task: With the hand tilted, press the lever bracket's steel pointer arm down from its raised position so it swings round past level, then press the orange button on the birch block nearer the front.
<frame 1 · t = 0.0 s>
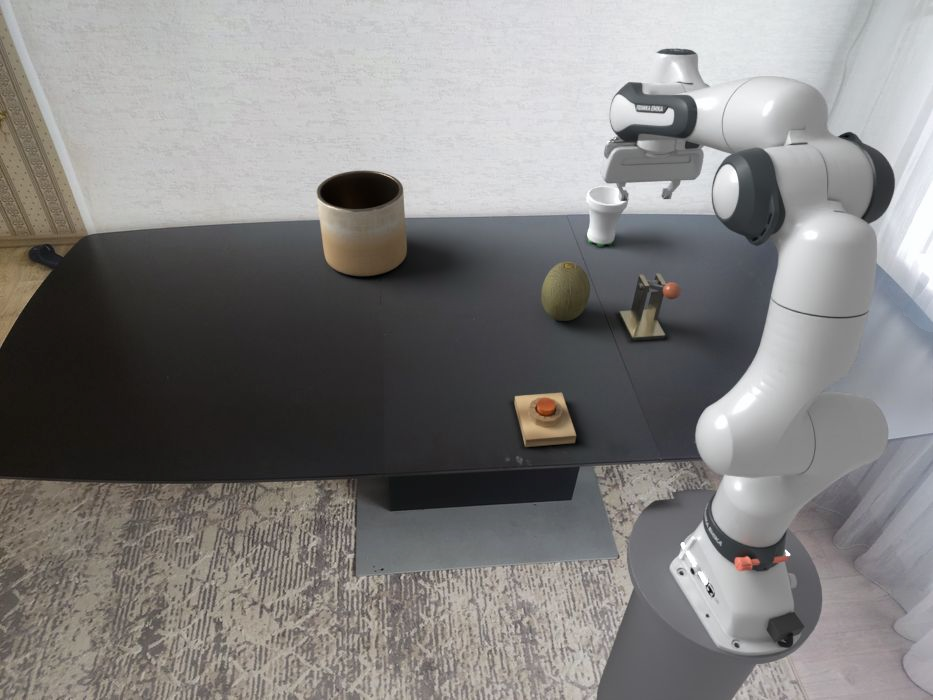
hand: (644, 198, 138), 33 cm above the table, tool pointing down, fingers open, 8 cm apart
button: (545, 407, 131), point 4 cm above the table, slide at 0.1 cm
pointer: (661, 288, 144), point 15 cm above the table, hinge at 30.0°
button block: (543, 422, 134), on the table
lever bracket: (641, 326, 158), on the table
fruit: (562, 316, 161), on the table
cup: (599, 241, 187), on the table
planter: (366, 257, 179), on the table
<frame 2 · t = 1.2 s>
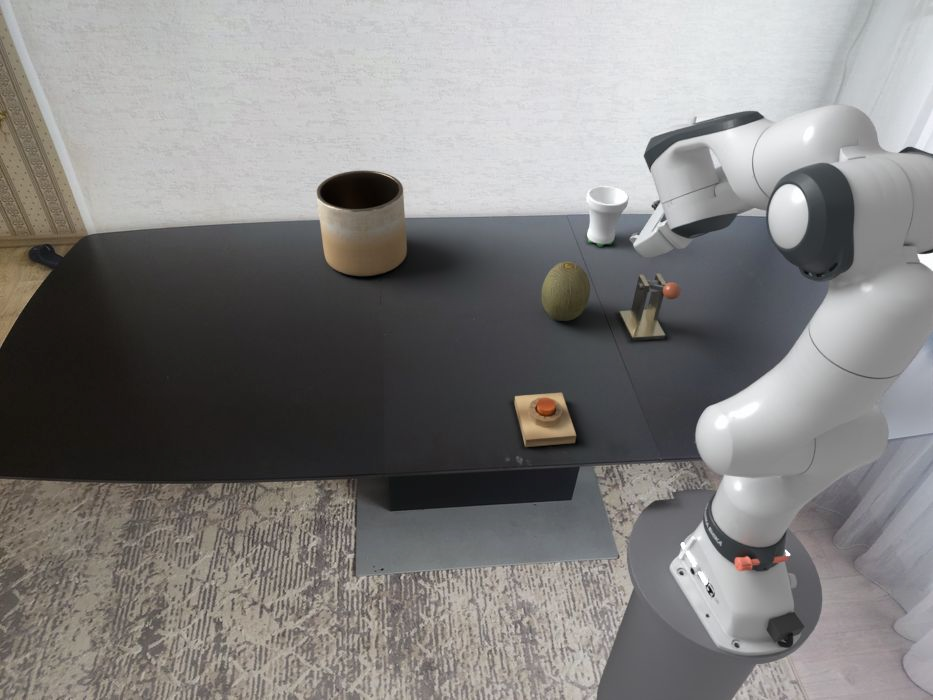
hand: (644, 222, 133), 32 cm above the table, tool tilted 50°, fingers open, 8 cm apart
nothing on the table moved.
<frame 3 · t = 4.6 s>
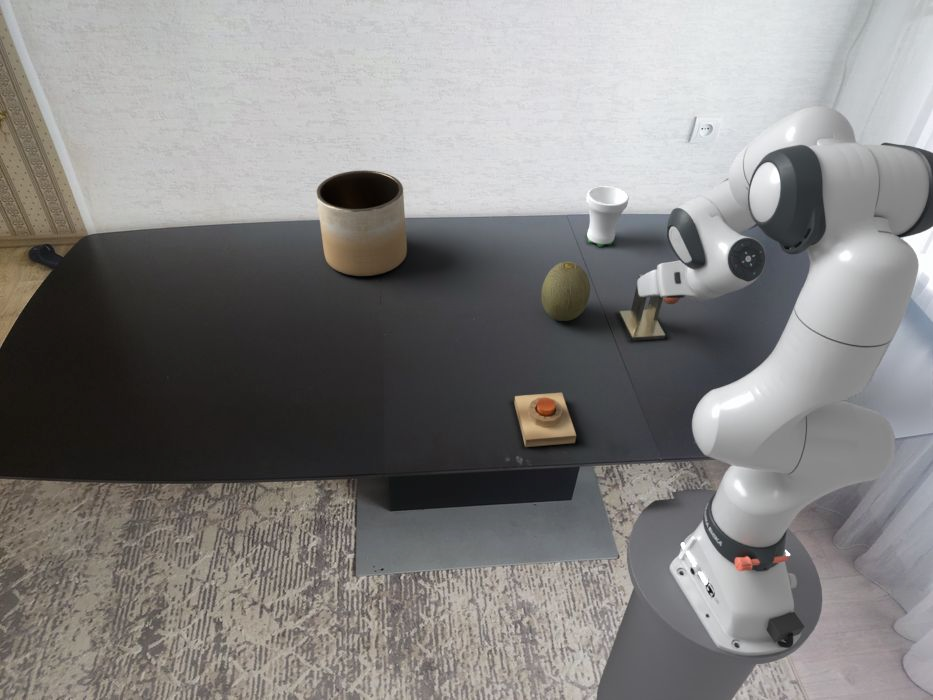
hand: (674, 289, 138), 19 cm above the table, tool tilted 45°, fingers closed, pressing on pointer
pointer: (661, 290, 145), point 14 cm above the table, hinge at 24.5°, touching gripper
everything else where it was.
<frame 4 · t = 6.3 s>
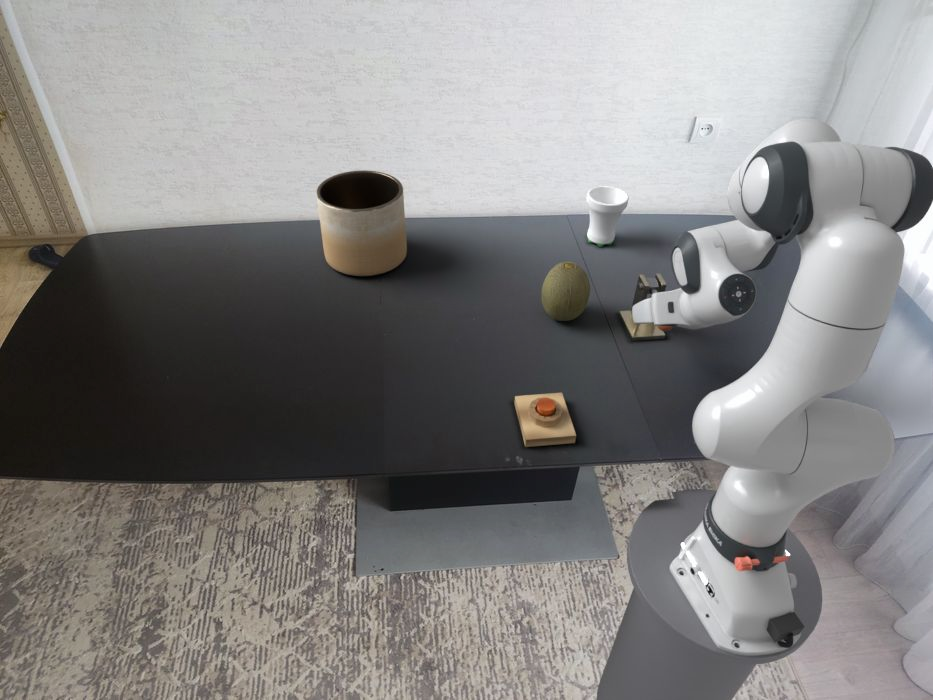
hand: (668, 314, 142), 12 cm above the table, tool tilted 45°, fingers closed
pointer: (658, 304, 147), point 11 cm above the table, hinge at -12.3°, touching gripper
everything else where it was.
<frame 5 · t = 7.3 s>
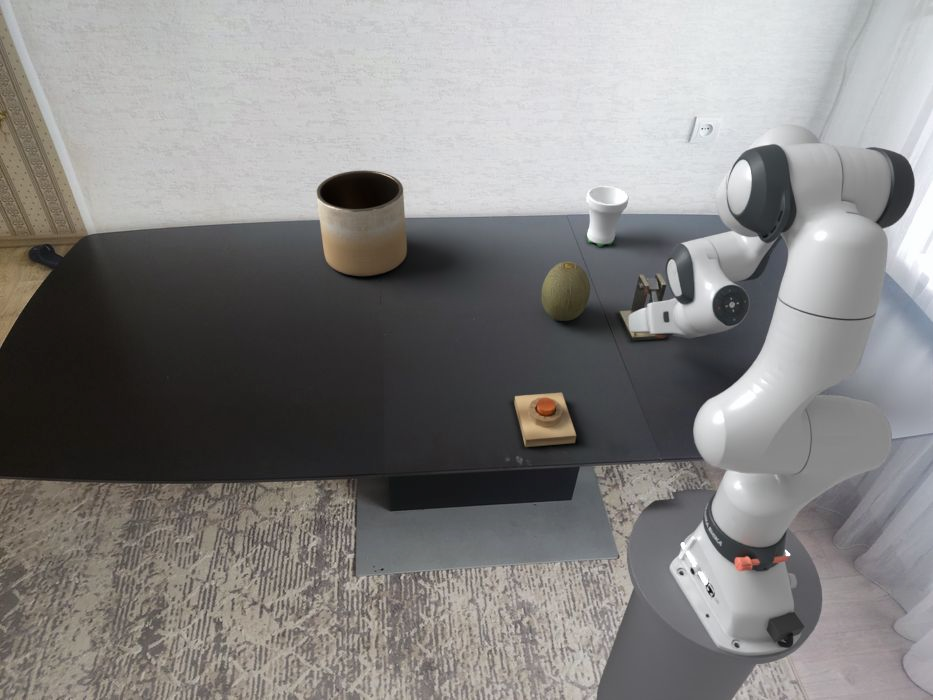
hand: (664, 323, 144), 9 cm above the table, tool tilted 45°, fingers closed, pressing on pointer
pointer: (656, 308, 148), point 9 cm above the table, hinge at -27.6°, touching gripper
everything else where it was.
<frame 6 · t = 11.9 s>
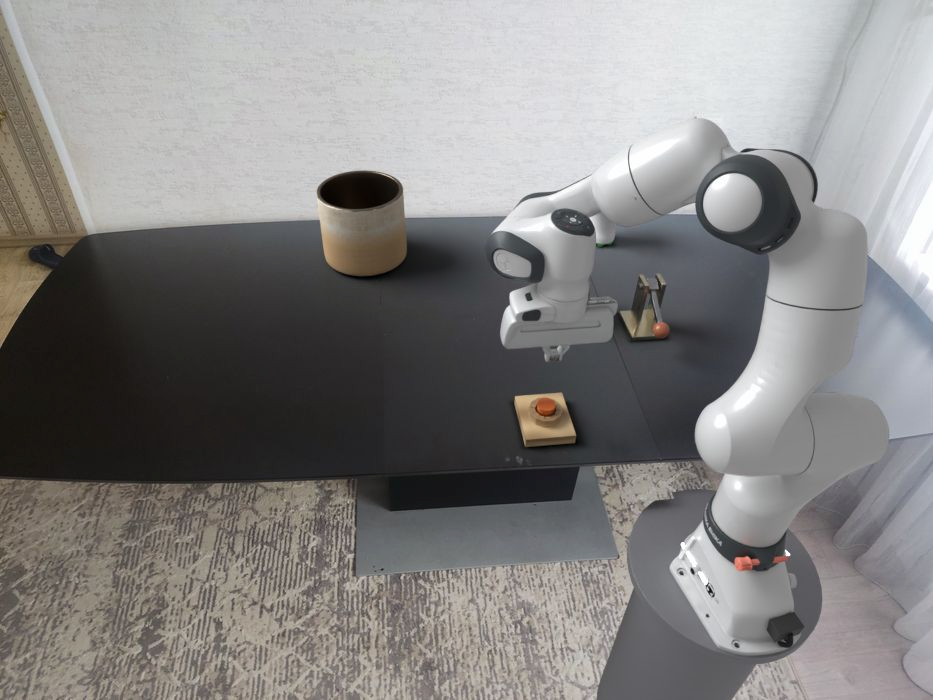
hand: (552, 359, 123), 17 cm above the table, tool pointing down, fingers closed
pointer: (656, 308, 148), point 9 cm above the table, hinge at -27.7°
everything else where it was.
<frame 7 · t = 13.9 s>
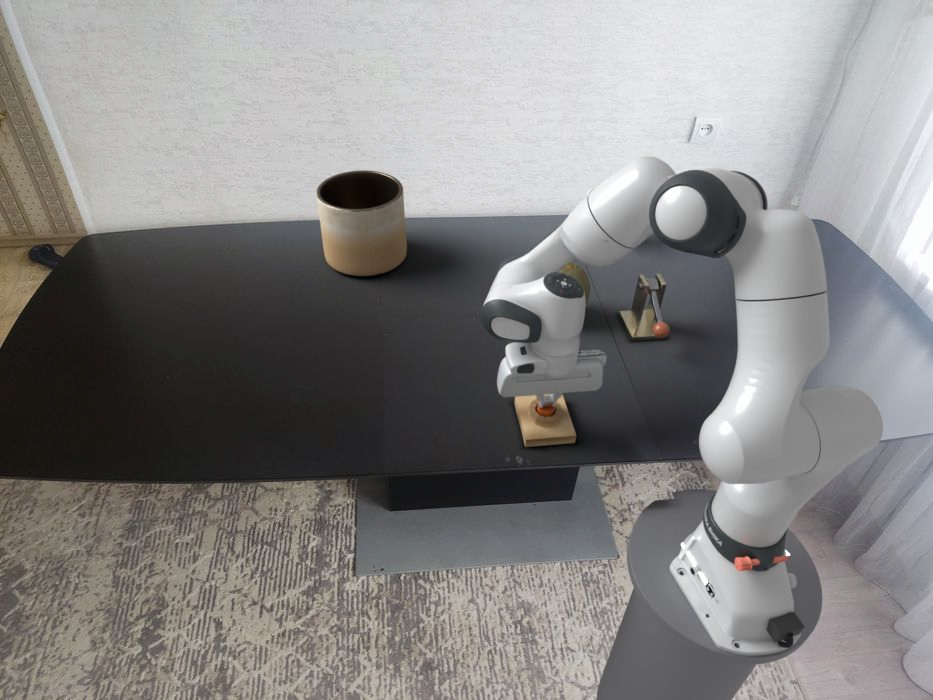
hand: (546, 405, 131), 5 cm above the table, tool pointing down, fingers closed, pressing on button
button: (545, 408, 131), point 4 cm above the table, slide at -0.4 cm, touching gripper
everything else where it was.
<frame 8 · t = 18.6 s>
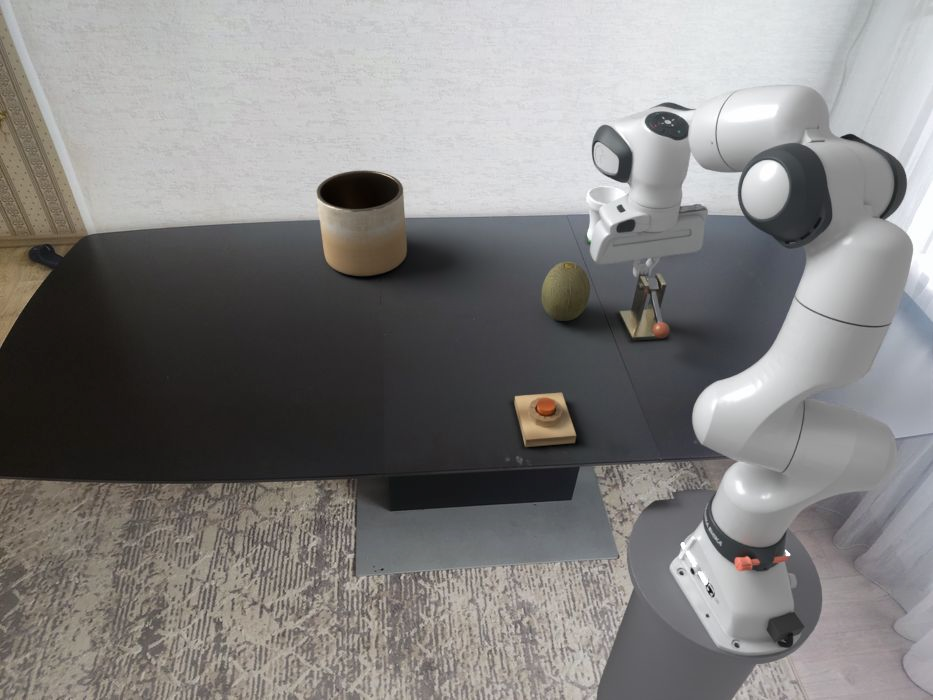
hand: (641, 274, 123), 29 cm above the table, tool pointing down, fingers closed
button: (545, 407, 131), point 4 cm above the table, slide at 0.1 cm
everything else where it was.
at the end: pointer at -28° (first picture: +30°); button pushed in 1.1 cm at the most during the clip, back to where it started at the end; button slide at 0.1 cm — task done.
